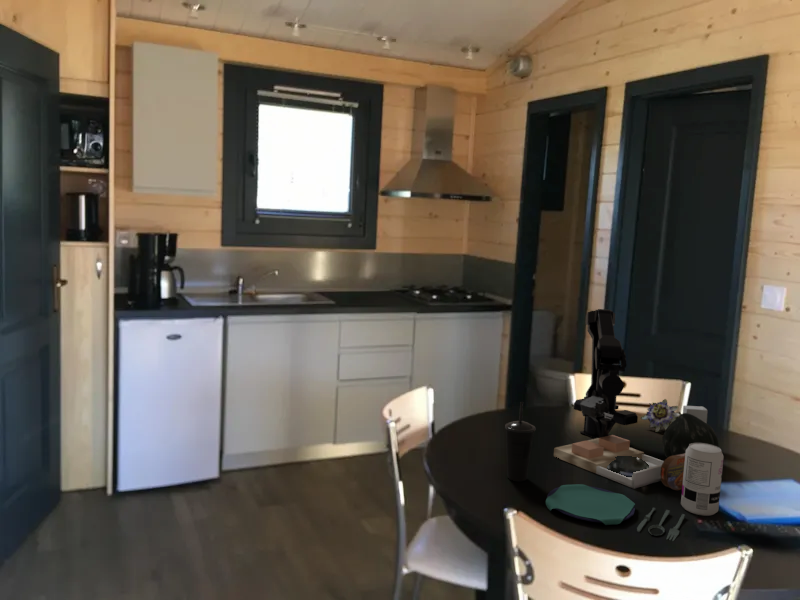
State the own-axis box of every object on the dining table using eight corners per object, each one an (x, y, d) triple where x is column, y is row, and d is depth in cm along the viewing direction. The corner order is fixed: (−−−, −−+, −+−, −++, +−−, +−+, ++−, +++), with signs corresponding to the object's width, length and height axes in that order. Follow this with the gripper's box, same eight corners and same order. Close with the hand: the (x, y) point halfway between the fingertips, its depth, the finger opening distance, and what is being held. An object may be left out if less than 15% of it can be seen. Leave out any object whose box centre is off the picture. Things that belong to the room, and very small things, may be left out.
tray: (596, 473, 189) (597, 458, 188) (643, 460, 200) (644, 447, 200) (634, 488, 179) (635, 473, 179) (681, 474, 191) (682, 460, 190)
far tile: (598, 446, 204) (599, 437, 203) (612, 443, 207) (612, 434, 207) (615, 452, 199) (616, 443, 199) (629, 449, 202) (629, 440, 202)
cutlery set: (563, 485, 180) (564, 477, 180) (689, 518, 164) (690, 509, 164) (533, 512, 163) (534, 503, 163) (670, 552, 147) (671, 541, 147)
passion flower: (656, 448, 230) (635, 416, 230) (661, 433, 239) (642, 403, 239) (688, 435, 223) (666, 403, 224) (692, 421, 233) (672, 389, 233)
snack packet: (666, 492, 178) (669, 459, 177) (656, 488, 181) (659, 455, 180) (707, 484, 185) (711, 452, 184) (697, 480, 187) (700, 448, 186)
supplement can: (674, 502, 172) (679, 441, 170) (707, 502, 172) (713, 442, 171) (690, 516, 164) (696, 453, 162) (725, 516, 164) (731, 453, 163)
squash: (729, 442, 203) (694, 398, 205) (728, 459, 190) (691, 413, 192) (686, 466, 209) (653, 424, 211) (682, 485, 196) (647, 440, 198)
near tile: (571, 452, 198) (572, 443, 197) (586, 448, 201) (586, 440, 201) (588, 458, 193) (589, 449, 192) (603, 455, 196) (603, 446, 196)
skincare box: (700, 444, 217) (703, 406, 216) (704, 449, 213) (708, 410, 212) (679, 443, 218) (683, 405, 216) (683, 447, 214) (687, 408, 212)
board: (553, 456, 201) (554, 447, 201) (600, 445, 213) (601, 437, 212) (596, 473, 189) (596, 464, 189) (643, 460, 200) (643, 452, 200)
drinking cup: (534, 475, 186) (539, 400, 183) (529, 485, 179) (534, 407, 176) (505, 470, 188) (509, 396, 186) (499, 480, 181) (503, 403, 179)
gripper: (562, 383, 207) (558, 435, 209) (614, 398, 192) (610, 454, 194) (588, 379, 214) (584, 430, 215) (641, 393, 198) (636, 448, 200)
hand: (602, 440), depth 206 cm, fingers closed
